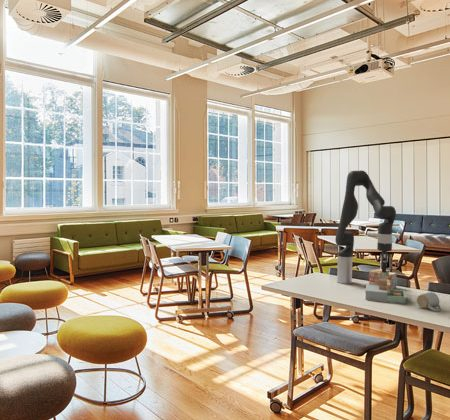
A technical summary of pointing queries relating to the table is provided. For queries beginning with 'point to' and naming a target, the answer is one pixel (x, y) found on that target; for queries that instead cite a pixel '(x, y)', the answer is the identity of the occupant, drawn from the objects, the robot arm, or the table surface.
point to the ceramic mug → (429, 301)
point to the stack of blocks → (382, 277)
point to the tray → (397, 297)
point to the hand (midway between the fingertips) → (383, 270)
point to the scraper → (384, 285)
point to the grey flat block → (375, 293)
